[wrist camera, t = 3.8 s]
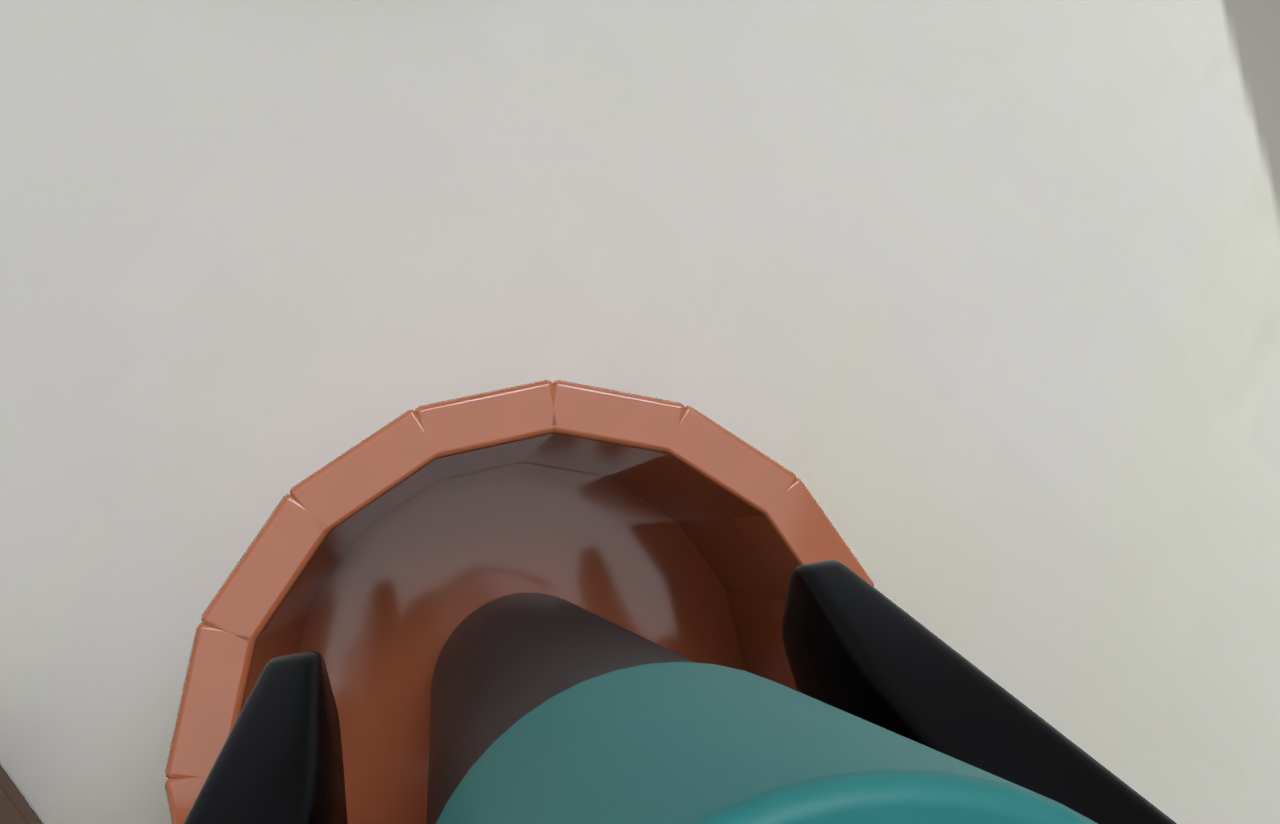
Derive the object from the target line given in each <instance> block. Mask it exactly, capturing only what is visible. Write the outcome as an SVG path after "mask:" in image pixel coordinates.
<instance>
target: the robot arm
mask: <svg viewBox="0 0 1280 824" xmlns="http://www.w3.org/2000/svg"><path fill="white" fill-rule="evenodd" d="M782 639H783V644H784V649H785V652H786V656H787V659H788V662H789V665H790V669H791V672H792V675H793V678H794V682H795V685H796V688H797V691H798V692H800V693H803V694H805V695H807V696H810V697H812V698H814V699H817V700H819V701H821V702H824V703H826V704H828V705H831V706H833V707H836V708H838V709H840V710H843V711H845V712H847V713H850V714H852V715H854V716H857V717H859V718H861V719H864V720H866V721H868V722H871V723H873V724H875V725H878V726H880V727H883V728H885V729H887V730H890V731H892V732H894V733H897V734H899V735H901V736H904V737H906V738H908V739H911V740H913V741H915V742H918V743H920V744H922V745H925V746H927V747H930V748H932V749H934V750H937V751H939V752H941V753H944V754H946V755H948V756H951V757H953V758H955V759H958V760H960V761H962V762H965V763H967V764H969V765H972V766H974V767H977V768H979V769H981V770H984V771H986V772H988V773H991V774H993V775H995V776H998V777H1000V778H1002V779H1005V780H1007V781H1009V782H1012V783H1014V784H1016V785H1019V786H1021V787H1024V788H1026V789H1028V790H1031V791H1033V792H1035V793H1038V794H1040V795H1042V796H1045V797H1047V798H1049V799H1052V800H1054V801H1056V802H1059V803H1061V804H1063V805H1064V806H1066V807H1068V808H1070V809H1072V810H1074V811H1076V812H1078V813H1079V814H1081V815H1083V816H1085V817H1087V818H1089V819H1091V820H1092V821H1094V822H1096V823H1098V824H1176V823H1175V822H1174V821H1173V820H1171V819H1170V818H1169V817H1168V816H1166V815H1165V814H1164V813H1163V812H1161V811H1160V810H1159V809H1157V808H1156V807H1155V806H1154V805H1152V804H1151V803H1150V802H1148V801H1147V800H1146V799H1145V798H1143V797H1142V796H1141V795H1139V794H1138V793H1137V792H1136V791H1134V790H1133V789H1132V788H1130V787H1129V786H1128V785H1127V784H1125V783H1124V782H1123V781H1121V780H1120V779H1119V778H1118V777H1116V776H1115V775H1114V774H1112V773H1111V772H1110V771H1109V770H1107V769H1106V768H1105V767H1104V766H1102V765H1101V764H1100V763H1098V762H1097V761H1096V760H1095V759H1093V758H1092V757H1091V756H1089V755H1088V754H1087V753H1086V752H1084V751H1083V750H1082V749H1080V748H1079V747H1078V746H1077V745H1075V744H1074V743H1073V742H1071V741H1070V740H1069V739H1068V738H1066V737H1065V736H1064V735H1062V734H1061V733H1060V732H1059V731H1057V730H1056V729H1055V728H1053V727H1052V726H1051V725H1050V724H1048V723H1047V722H1046V721H1045V720H1043V719H1042V718H1041V717H1039V716H1038V715H1037V714H1036V713H1034V712H1033V711H1032V710H1030V709H1029V708H1028V707H1027V706H1025V705H1024V704H1023V703H1021V702H1020V701H1019V700H1018V699H1016V698H1015V697H1014V696H1012V695H1011V694H1010V693H1009V692H1007V691H1006V690H1005V689H1003V688H1002V687H1001V686H1000V685H998V684H997V683H996V682H994V681H993V680H992V679H991V678H989V677H988V676H987V675H986V674H984V673H983V672H982V671H980V670H979V669H978V668H977V667H975V666H974V665H973V664H971V663H970V662H969V661H968V660H966V659H965V658H964V657H962V656H961V655H960V654H959V653H957V652H956V651H955V650H953V649H952V648H951V647H950V646H948V645H947V644H946V643H944V642H943V641H942V640H941V639H939V638H938V637H937V636H935V635H934V634H933V633H932V632H930V631H929V630H928V629H927V628H925V627H924V626H923V625H921V624H920V623H919V622H918V621H916V620H915V619H914V618H912V617H911V616H910V615H909V614H907V613H906V612H905V611H903V610H902V609H901V608H900V607H898V606H897V605H896V604H894V603H893V602H892V601H891V600H889V599H888V598H887V597H885V596H884V595H883V594H882V593H880V592H879V591H878V590H876V589H875V588H874V587H873V586H871V585H870V584H869V583H868V582H866V581H865V580H864V579H862V578H861V577H860V576H859V575H857V574H856V573H855V572H853V571H852V570H851V569H850V568H848V567H847V566H846V565H844V564H843V563H841V562H838V561H835V560H826V561H820V562H814V563H808V564H803V565H799V566H797V567H796V568H795V569H794V570H793V571H792V573H791V576H790V580H789V586H788V592H787V597H786V603H785V608H784V614H783V620H782ZM183 824H348V820H347V807H346V794H345V780H344V767H343V754H342V741H341V730H340V722H339V716H338V710H337V706H336V702H335V699H334V695H333V691H332V687H331V683H330V680H329V676H328V672H327V668H326V664H325V661H324V658H323V656H322V654H321V653H320V652H318V651H312V650H311V651H305V652H300V653H294V654H288V655H283V656H277V657H275V658H272V659H271V660H270V661H269V662H268V663H267V664H266V665H265V667H264V668H263V670H262V672H261V674H260V676H259V678H258V680H257V682H256V684H255V686H254V687H253V689H252V691H251V693H250V695H249V697H248V699H247V701H246V703H245V705H244V707H243V709H242V711H241V713H240V715H239V717H238V719H237V720H236V722H235V724H234V726H233V728H232V730H231V732H230V734H229V736H228V738H227V740H226V742H225V744H224V746H223V748H222V750H221V752H220V753H219V755H218V757H217V759H216V761H215V763H214V765H213V767H212V769H211V771H210V773H209V775H208V777H207V779H206V781H205V783H204V785H203V786H202V788H201V790H200V792H199V794H198V796H197V798H196V800H195V802H194V804H193V806H192V808H191V810H190V812H189V814H188V816H187V817H186V819H185V821H184V823H183Z"/></svg>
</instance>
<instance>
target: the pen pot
mask: <svg viewBox="0 0 1280 824" xmlns="http://www.w3.org/2000/svg"><path fill="white" fill-rule="evenodd" d="M826 560H835V561H838V562H841V563H843V564H844V565H846V566H847V567H848V568H850V569H851V570H852V571H853V572H855V573H856V574H857V575H859V576H860V577H861V578H862V579H864V580H865V581H866V582H868V583H869V584H870V585H871V586H873V587H874V584H873V582H872V580H871V579H870V578H869V576H868V575H867V573H866V572H865V570H864V569H863V568H862V566H861V565H860V563H859V562H858V561H857V559H856V558H855V556H854V555H853V553H852V552H851V551H850V549H849V548H848V546H847V545H846V543H845V542H844V541H843V539H842V538H841V536H840V535H839V533H838V532H837V531H836V529H835V528H834V526H833V525H832V524H831V522H830V521H829V519H828V518H827V516H826V515H825V514H824V512H823V511H822V509H821V508H820V506H819V505H818V504H817V502H816V501H815V499H814V498H813V496H812V495H811V494H810V492H809V491H808V489H807V488H806V487H805V485H804V484H803V482H802V481H801V480H800V479H799V478H796V476H795V474H794V473H792V472H791V471H789V470H787V469H786V468H784V467H783V466H781V465H780V464H778V463H777V462H775V461H774V460H772V459H771V458H769V457H767V456H766V455H764V454H763V453H761V452H760V451H758V450H757V449H755V448H754V447H752V446H751V445H749V444H747V443H746V442H744V441H743V440H741V439H740V438H738V437H737V436H735V435H734V434H732V433H731V432H729V431H727V430H726V429H724V428H723V427H721V426H720V425H718V424H717V423H715V422H714V421H712V420H711V419H709V418H707V417H706V416H704V415H703V414H701V413H700V412H698V411H697V410H695V409H694V408H692V407H690V406H686V407H684V405H682V404H681V403H678V402H673V401H667V400H662V399H657V398H652V397H646V396H641V395H636V394H630V393H625V392H620V391H614V390H609V389H604V388H598V387H593V386H588V385H582V384H577V383H572V382H567V381H561V380H557V381H554V382H553V383H552V382H551V381H548V380H544V381H539V382H535V383H530V384H525V385H520V386H515V387H510V388H505V389H501V390H496V391H491V392H486V393H481V394H476V395H472V396H467V397H462V398H457V399H452V400H447V401H442V402H438V403H433V404H428V405H423V406H419V407H418V408H416V409H415V411H414V410H408V411H407V412H405V413H404V414H402V415H401V416H399V417H398V418H396V419H395V420H393V421H392V422H390V423H389V424H387V425H386V426H384V427H383V428H381V429H380V430H378V431H377V432H375V433H374V434H372V435H371V436H369V437H368V438H366V439H365V440H363V441H362V442H360V443H359V444H357V445H356V446H354V447H353V448H351V449H350V450H348V451H347V452H345V453H344V454H342V455H341V456H339V457H338V458H336V459H335V460H333V461H332V462H330V463H329V464H327V465H326V466H324V467H323V468H321V469H320V470H318V471H317V472H315V473H314V474H312V475H310V476H309V477H307V478H306V479H304V480H303V481H301V482H300V483H298V484H297V485H295V486H294V487H292V489H291V490H290V494H287V495H286V496H284V497H283V498H282V500H281V501H280V503H279V504H278V505H277V507H276V508H275V510H274V511H273V513H272V514H271V516H270V517H269V519H268V520H267V521H266V523H265V524H264V526H263V527H262V529H261V530H260V532H259V533H258V535H257V536H256V537H255V539H254V540H253V542H252V543H251V545H250V546H249V548H248V549H247V550H246V552H245V553H244V555H243V556H242V558H241V559H240V561H239V562H238V564H237V565H236V566H235V568H234V569H233V571H232V572H231V574H230V575H229V577H228V578H227V580H226V581H225V582H224V584H223V585H222V587H221V588H220V590H219V591H218V593H217V594H216V596H215V597H214V598H213V600H212V601H211V603H210V604H209V606H208V607H207V609H206V610H205V612H204V613H203V614H202V619H201V621H202V623H200V624H199V625H198V627H197V628H196V632H195V637H194V641H193V646H192V651H191V655H190V660H189V664H188V669H187V673H186V678H185V683H184V687H183V692H182V696H181V701H180V705H179V710H178V715H177V719H176V724H175V728H174V733H173V737H172V742H171V747H170V751H169V756H168V760H167V765H166V769H165V772H166V777H168V779H167V780H166V784H165V789H166V794H167V799H168V804H169V809H170V815H171V820H172V824H183V823H184V821H185V819H186V817H187V816H188V814H189V812H190V810H191V808H192V806H193V804H194V802H195V800H196V798H197V796H198V794H199V792H200V790H201V788H202V786H203V785H204V783H205V781H206V779H207V777H208V775H209V773H210V771H211V769H212V767H213V765H214V763H215V761H216V759H217V757H218V755H219V753H220V752H221V750H222V748H223V746H224V744H225V742H226V740H227V738H228V736H229V734H230V732H231V730H232V728H233V726H234V724H235V722H236V720H237V719H238V717H239V715H240V713H241V711H242V709H243V707H244V705H245V703H246V701H247V699H248V697H249V695H250V693H251V691H252V689H253V687H254V686H255V684H256V682H257V680H258V678H259V676H260V674H261V672H262V670H263V668H264V667H265V665H266V664H267V663H268V662H269V661H270V660H271V659H272V658H275V657H277V656H283V655H288V654H294V653H300V652H305V651H311V650H312V651H318V652H320V653H321V654H322V656H323V658H324V661H325V664H326V668H327V672H328V676H329V680H330V683H331V687H332V691H333V695H334V699H335V702H336V706H337V710H338V716H339V722H340V730H341V741H342V754H343V767H344V780H345V794H346V807H347V820H348V824H426V820H427V792H428V765H429V738H430V711H431V688H432V679H433V674H434V670H435V666H436V662H437V660H438V657H439V655H440V652H441V650H442V648H443V646H444V645H445V643H446V641H447V639H448V638H449V637H450V635H451V634H452V632H453V631H454V630H455V628H456V627H457V626H458V625H459V624H460V623H461V622H462V621H463V620H464V619H465V618H466V617H468V616H469V615H470V614H471V613H472V612H474V611H475V610H477V609H478V608H480V607H482V606H483V605H485V604H487V603H489V602H491V601H493V600H496V599H499V598H502V597H505V596H509V595H514V594H520V593H539V594H547V595H551V596H556V597H559V598H561V599H564V600H567V601H569V602H571V603H573V604H575V605H577V606H579V607H581V608H583V609H586V610H588V611H590V612H592V613H594V614H596V615H598V616H600V617H602V618H604V619H606V620H608V621H610V622H612V623H615V624H617V625H619V626H621V627H623V628H625V629H627V630H629V631H631V632H633V633H635V634H637V635H639V636H642V637H644V638H646V639H648V640H650V641H652V642H654V643H656V644H658V645H660V646H662V647H664V648H666V649H669V650H671V651H673V652H675V653H677V654H679V655H681V656H683V657H685V658H687V659H689V660H691V661H693V662H695V663H707V664H716V665H721V666H725V667H730V668H735V669H739V670H744V671H747V672H750V673H752V674H755V675H758V676H761V677H763V678H766V679H769V680H772V681H774V682H777V683H779V684H782V685H784V686H786V687H789V688H791V689H793V690H796V691H797V688H796V685H795V682H794V678H793V675H792V672H791V669H790V665H789V662H788V659H787V656H786V652H785V649H784V644H783V639H782V620H783V614H784V608H785V603H786V597H787V592H788V586H789V580H790V576H791V573H792V571H793V570H794V569H795V568H796V567H797V566H799V565H803V564H808V563H814V562H820V561H826Z"/></svg>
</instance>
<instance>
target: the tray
mask: <svg viewBox="0 0 1280 824" xmlns="http://www.w3.org/2000/svg"><path fill="white" fill-rule="evenodd" d="M0 824H42V823H41V821H40V820H39V819H38V817H37V816H36V814H35V813H34V812H33V810H32V809H31V807H30V806H29V805H28V803H27V802H26V801H25V799H24V798H23V796H22V795H21V794H20V792H19V791H18V789H17V788H16V787H15V785H14V784H13V782H12V781H11V780H10V778H9V777H8V776H7V774H6V773H5V771H4V770H3V769H2V767H1V766H0Z"/></svg>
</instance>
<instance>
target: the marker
mask: <svg viewBox="0 0 1280 824" xmlns="http://www.w3.org/2000/svg"><path fill="white" fill-rule="evenodd" d="M426 824H1098V823H1096V822H1094V821H1092V820H1091V819H1089V818H1087V817H1085V816H1083V815H1081V814H1079V813H1078V812H1076V811H1074V810H1072V809H1070V808H1068V807H1066V806H1064V805H1063V804H1061V803H1059V802H1056V801H1054V800H1052V799H1049V798H1047V797H1045V796H1042V795H1040V794H1038V793H1035V792H1033V791H1031V790H1028V789H1026V788H1024V787H1021V786H1019V785H1016V784H1014V783H1012V782H1009V781H1007V780H1005V779H1002V778H1000V777H998V776H995V775H993V774H991V773H988V772H986V771H984V770H981V769H979V768H977V767H974V766H972V765H969V764H967V763H965V762H962V761H960V760H958V759H955V758H953V757H951V756H948V755H946V754H944V753H941V752H939V751H937V750H934V749H932V748H930V747H927V746H925V745H922V744H920V743H918V742H915V741H913V740H911V739H908V738H906V737H904V736H901V735H899V734H897V733H894V732H892V731H890V730H887V729H885V728H883V727H880V726H878V725H875V724H873V723H871V722H868V721H866V720H864V719H861V718H859V717H857V716H854V715H852V714H850V713H847V712H845V711H843V710H840V709H838V708H836V707H833V706H831V705H828V704H826V703H824V702H821V701H819V700H817V699H814V698H812V697H810V696H807V695H805V694H803V693H800V692H798V691H796V690H793V689H791V688H789V687H786V686H784V685H782V684H779V683H777V682H774V681H772V680H769V679H766V678H763V677H761V676H758V675H755V674H752V673H750V672H747V671H744V670H739V669H735V668H730V667H725V666H721V665H716V664H707V663H695V662H693V661H691V660H689V659H687V658H685V657H683V656H681V655H679V654H677V653H675V652H673V651H671V650H669V649H666V648H664V647H662V646H660V645H658V644H656V643H654V642H652V641H650V640H648V639H646V638H644V637H642V636H639V635H637V634H635V633H633V632H631V631H629V630H627V629H625V628H623V627H621V626H619V625H617V624H615V623H612V622H610V621H608V620H606V619H604V618H602V617H600V616H598V615H596V614H594V613H592V612H590V611H588V610H586V609H583V608H581V607H579V606H577V605H575V604H573V603H571V602H569V601H567V600H564V599H561V598H559V597H556V596H551V595H547V594H539V593H520V594H514V595H509V596H505V597H502V598H499V599H496V600H493V601H491V602H489V603H487V604H485V605H483V606H482V607H480V608H478V609H477V610H475V611H474V612H472V613H471V614H470V615H469V616H468V617H466V618H465V619H464V620H463V621H462V622H461V623H460V624H459V625H458V626H457V627H456V628H455V630H454V631H453V632H452V634H451V635H450V637H449V638H448V639H447V641H446V643H445V645H444V646H443V648H442V650H441V652H440V655H439V657H438V660H437V662H436V666H435V670H434V674H433V679H432V688H431V711H430V738H429V765H428V792H427V820H426Z"/></svg>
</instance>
